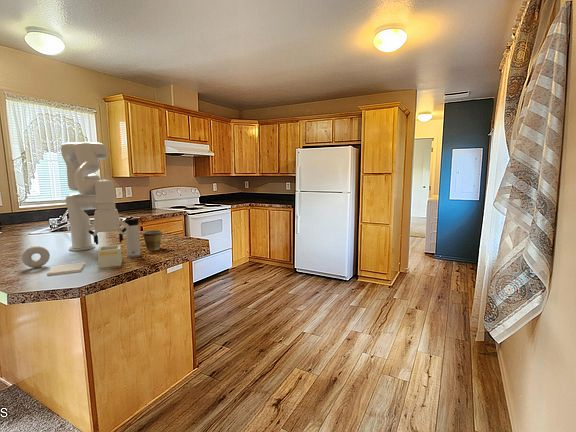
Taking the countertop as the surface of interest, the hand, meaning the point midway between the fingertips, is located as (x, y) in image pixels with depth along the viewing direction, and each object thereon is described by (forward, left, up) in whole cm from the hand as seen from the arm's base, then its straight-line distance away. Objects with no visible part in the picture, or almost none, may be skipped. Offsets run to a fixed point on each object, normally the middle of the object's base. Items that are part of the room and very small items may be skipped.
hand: (109, 243), depth 145 cm
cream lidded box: (0, 0, -10) cm, 10 cm away
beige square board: (+1, -17, -10) cm, 20 cm away
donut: (-9, -30, -10) cm, 33 cm away
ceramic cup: (-25, +19, -10) cm, 33 cm away
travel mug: (-11, +10, -10) cm, 18 cm away
